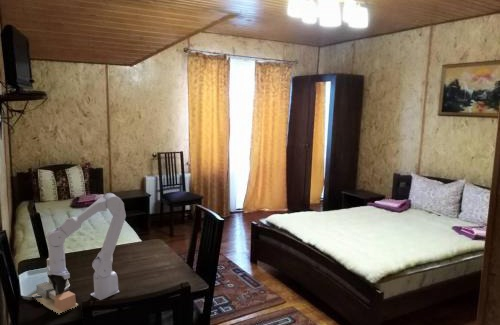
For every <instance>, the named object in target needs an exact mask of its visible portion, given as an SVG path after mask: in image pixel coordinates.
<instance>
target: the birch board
mask: <svg viewBox="0 0 500 325" xmlns="http://www.w3.org/2000/svg"><path fill="white" fill-rule="evenodd" d="M31 296H37V293H34V294H31ZM36 300H37V301H36ZM36 300H35V301H36V302H38V303H39V302H40V304H41V305H42V304H43V306H44V307H45V308H47V309H49V310H51V311H52V310H53V313H55V312H56V314H57V313H58V314H57V315H61V314H60V313H62V312H64V313H66V312H68V311H67V310H69V309H71V310H73V309H75V307H76V308H77V306H78V307H79V303H77V302H76V305H75V306H72V307H70V308H68V309H65V310H63V311H60V310H58V309H57V308H55V302H54V300H52V299H51V298H50V299H47V300H46V299H44V298H36ZM72 308H73V309H72ZM65 311H66V312H65ZM69 311H70V310H69ZM62 314H63V313H62Z"/></svg>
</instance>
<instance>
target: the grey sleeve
mask: <svg viewBox="0 0 500 325" xmlns="http://www.w3.org/2000/svg"><path fill="white" fill-rule="evenodd" d="M52 289H54V288H53V285H52V284H50V283H49V281H44V282H42V283H39V284H37V285H36V294H37V295H41V296H42V298H44V299H46V300H47V299H50V298H49V297H47V291H49V290H52Z"/></svg>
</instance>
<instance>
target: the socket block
mask: <svg viewBox="0 0 500 325" xmlns="http://www.w3.org/2000/svg"><path fill="white" fill-rule="evenodd" d="M76 300H77V299H76V294H75V293H74V292H71V291H70V290H68V291H64V292H63V293H62V294H59V295H57V296H54V302H55V308H57V309H58V310H60V311H63V310H65V309H68V308H70V307H72V306H75V305H76V303H77V301H76Z"/></svg>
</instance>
